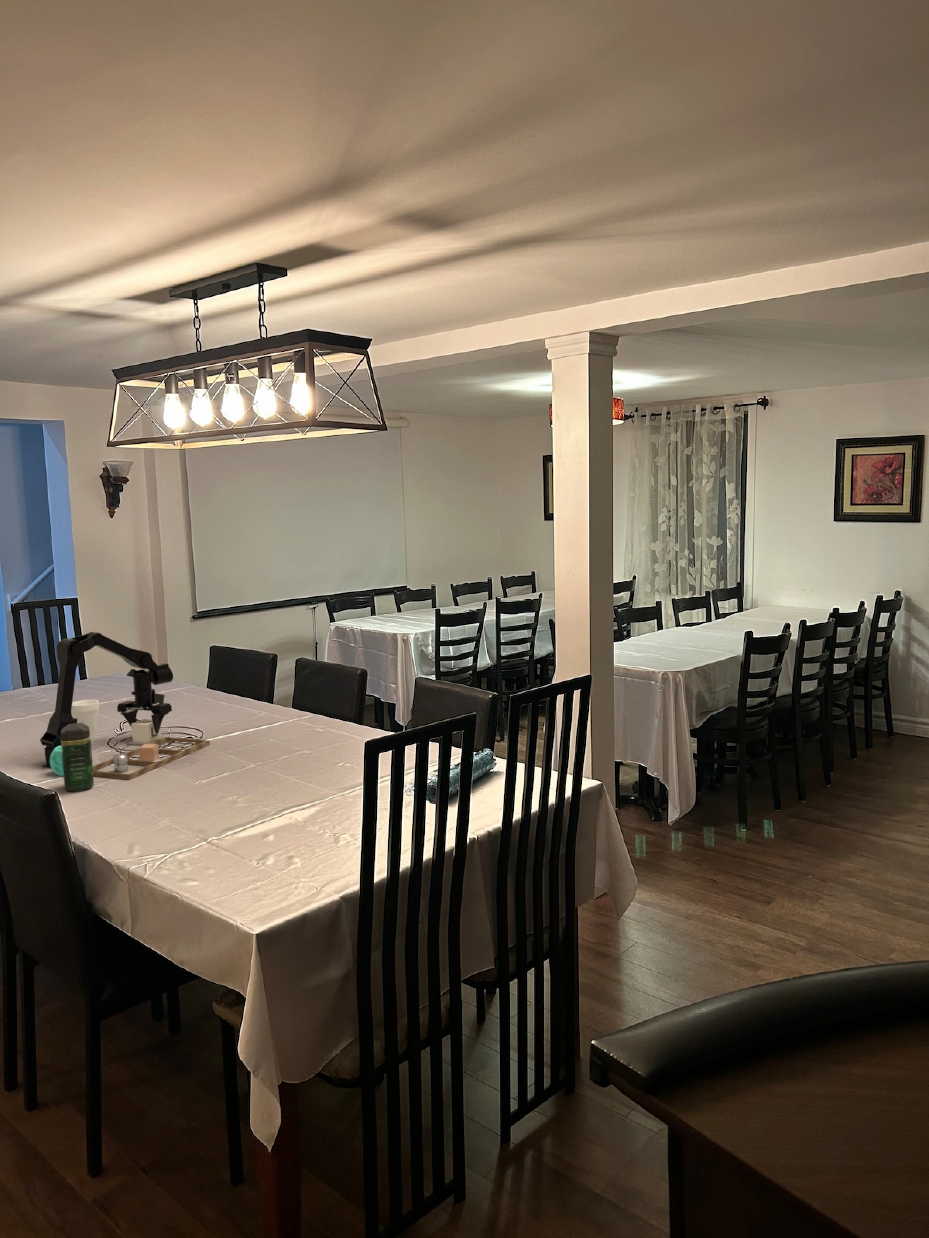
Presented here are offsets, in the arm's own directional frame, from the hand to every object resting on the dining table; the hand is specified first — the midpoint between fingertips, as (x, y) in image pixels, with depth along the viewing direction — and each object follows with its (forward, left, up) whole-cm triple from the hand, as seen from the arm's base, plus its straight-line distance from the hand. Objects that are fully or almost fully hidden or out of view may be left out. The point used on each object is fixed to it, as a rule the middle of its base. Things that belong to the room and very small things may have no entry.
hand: (146, 732), depth 309 cm
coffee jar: (-46, -14, -4) cm, 48 cm away
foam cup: (-2, +24, -4) cm, 24 cm away
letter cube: (0, 0, -3) cm, 3 cm away
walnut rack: (-17, -15, -4) cm, 23 cm away
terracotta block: (-17, -15, -4) cm, 23 cm away
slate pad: (0, 0, -4) cm, 4 cm away
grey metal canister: (-30, -15, -4) cm, 34 cm away
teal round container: (-35, 0, -4) cm, 35 cm away
